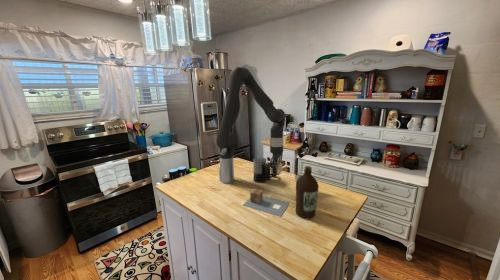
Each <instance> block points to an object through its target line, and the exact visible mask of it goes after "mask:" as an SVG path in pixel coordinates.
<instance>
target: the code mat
mask: <svg viewBox="0 0 500 280" xmlns="http://www.w3.org/2000/svg"><path fill="white" fill-rule="evenodd" d="M289 205H290V202H289V201H285V200H281V199H276V198H272V197H269V196H265V195H263V200H262V201H261V202H260V203H259V204H255V203H252V202H251V201H250V197H249V198H248V199H247V200H246V201H245V202H244V203H243V204H242V206H243V207H247V208H250V209H253V210H257V211H261V212H264V213H268V214H271V215H273V216H278V217H282V216H283V214H284V213H285V211H286V210H287V209H288V206H289Z"/></svg>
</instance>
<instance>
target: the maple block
mask: <svg viewBox="0 0 500 280" xmlns="http://www.w3.org/2000/svg"><path fill="white" fill-rule="evenodd" d="M275 163H277V162H275ZM275 165H276V164H275ZM270 169H271V170H270V174H273V168H271V167H270ZM282 173H283V162H282V163H281V162H280V163H279V162H278V164H277V174H275V175H277V176H280V175H281V174H282Z"/></svg>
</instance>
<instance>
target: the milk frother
mask: <svg viewBox="0 0 500 280" xmlns="http://www.w3.org/2000/svg"><path fill="white" fill-rule="evenodd" d="M252 161H253V163H252V164H253V178H252V179H253V182H255V183H264V182H266V181H270V179H272V178H274V177H277V176H278V175H275V174H271V165H270V164H269V163H267V158H265V157H255V158H253V159H252Z"/></svg>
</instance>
